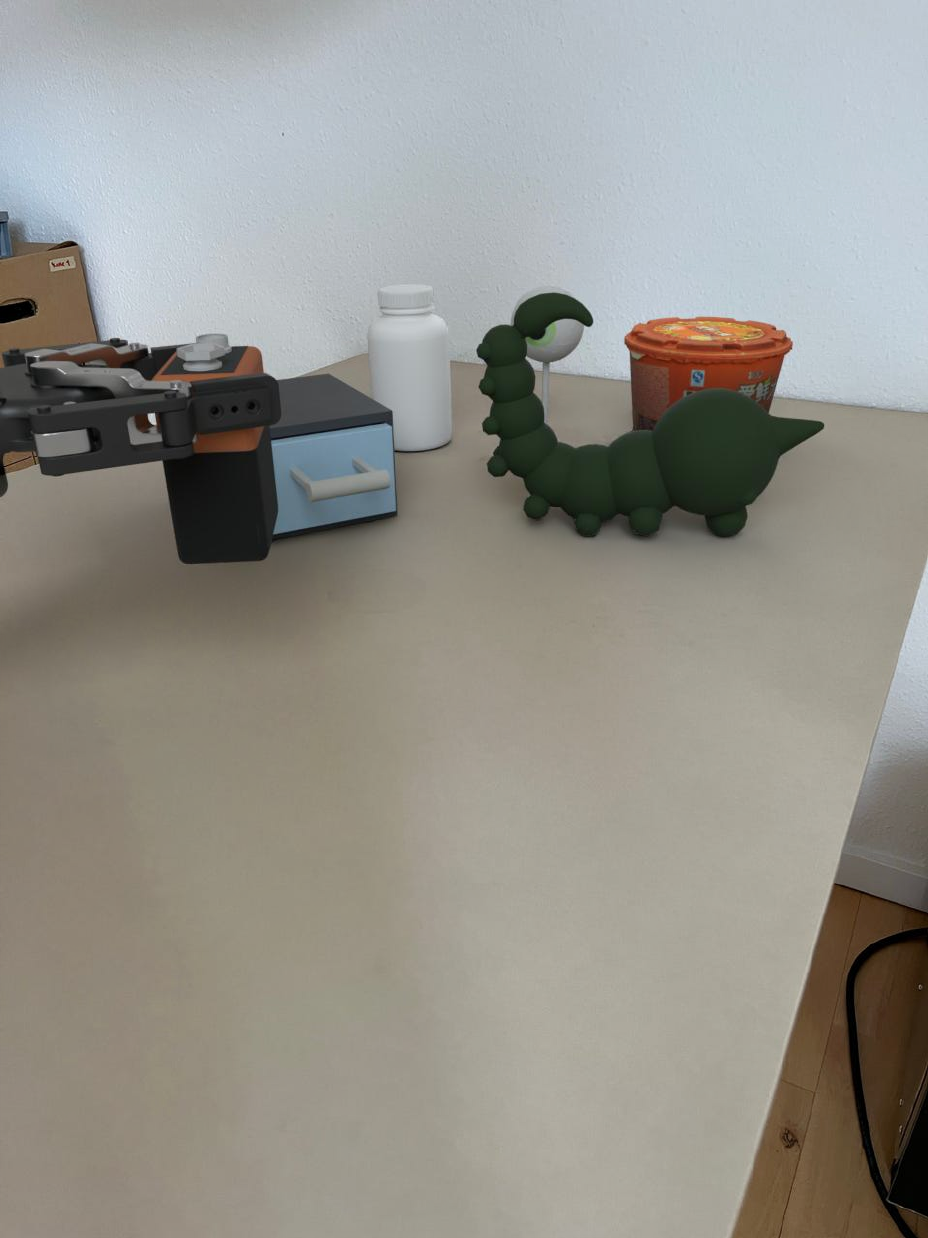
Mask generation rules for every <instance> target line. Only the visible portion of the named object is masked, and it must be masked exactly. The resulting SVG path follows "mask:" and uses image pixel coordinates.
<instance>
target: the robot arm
mask: <svg viewBox="0 0 928 1238" xmlns="http://www.w3.org/2000/svg"><path fill="white" fill-rule="evenodd" d="M190 344H196V342H193V343H182V344H173V345H162V346H152V347H149V346H148V345H147V344H144V343H140V342H130V343H129V341H128V340H127V339H121V338H120V337H111V338H109V339H108V340H107V339H106V340H97V341H87V342H77V343H69V344H60V345H59V344H58V345H48V346H39V347H30V348H20V347H12V348H8V350H5V351H2V352H1V358H2V363H3V366H4V367H0V498H3V496H5V495H6V493H7V492H8V489H9V481H8V476H7V472H6V469H5V465H4V464H5V463H4V457H5V455H6V454H10V453H12V452H13V453H19V454H20V453H35V456H36V457H37V461H38V465H39V469H40V473H41V475H42V476H46V477H47V476H49V477H62V476H65V475H69V474H71V475H72V474H77V473H84V472H91V471H100V470H105V469H113V468H120V467H126V466H133V465H141V464H148V463H154V462H155V463H156V462H163V460H170V459H184V458H186V457H189V456H191V455H193V454H194V453H195V451H194V445H193V443H195V442H197V441H199V436H198V433H199V434H200V435H205V434H213V433H220V432H227V431H234V430H241V429H248V428H255V427H262V426H269V425H274V424H276V423H277V422H278V421H279V420H280V418H281V404H280V394H279V385H278V382H277V380H278V379H276V378H275V377H274V376H272V375H271V374H269V373H267V372H264V373H256V374H248V375H239V376H231V377H222V378H214V379H205V380H197V381H190V383H189V382H182V381H181V380H173V381H151V380H152V379H153V377H154V376H155V375H156V374H157V373H158V372H159V370H160V369H161V368H162V367H163V366H164V365H165V364H166V362H167V361H168V360H169V359H170V358H171V357H172V355H173V354H174V353H175V352H176V351H177V349H176V348H180V347H183V346H187V345H190ZM149 349H150V351H149ZM87 363H88V364H87ZM155 413H158V418H159V425H160V426H157V425H156V424H153V423H152V422H151V421H150V418H149V415H150V414H155Z"/></svg>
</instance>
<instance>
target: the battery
mask: <svg viewBox="0 0 928 1238" xmlns="http://www.w3.org/2000/svg"><path fill="white" fill-rule="evenodd" d="M195 343H196V344H191V343H189V344H190V345H187V346H183V347H180V348H176V349H177V351H176V352H175V353H174V354H173V355H172V357H171V358H170V359H169V360H168V361H167V362H166V364H165V365H164V366H163V367H162V368H161V369H160V370H159V372H158V373H157V374H156V375H155V376H154V377H153V379H152V380H151V381H173V380H181V381H182V382H189V383H190V381H197V380H205V379H214V378H222V377H231V376H239V375H248V374H256V373H265V372H264V361H263V354H262V352H261V350H260V349H259V348H258V347H256V346H254V345H253V346H252V345H233V346H231V345H230V343H229V336H228V334H226V333H204V334H199V335H197V336H195ZM154 418H155V423H156V424H155V425H156V426H160V425H159V418H158V413H154ZM198 436H199V441H197V442H195V443H193V445H194V451H195V453H194V454H193V455H191V456H189V457H186V458H184V459H170V460H163V461H162V466H163V473H164V479H165V485H166V490H167V497H168V504H169V509H170V513H171V514H170V516H171V522H172V527H173V533H174V539H175V545H176V551H177V552H176V553H177V557H178V559H179V561H180V562H181V563H182V564H184V565H207V564H208V565H209V564H223V563H224V564H226V563H227V564H229V563H230V564H231V563H248V562H249V563H250V562H251V563H252V562H262V561H265V560H266V559H267V557H268V556H269V554H270V550H271V545H272V542H273V540H272V537H273V533H274V528H275V524H276V520H277V515H278V500H277V491H276V482H275V472H274V463H273V454H272V444H271V435H270V426H262V427H255V428H248V429H241V430H234V431H227V432H220V433H213V434H205V435H200V434H199V433H198Z"/></svg>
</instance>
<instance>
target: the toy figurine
mask: <svg viewBox="0 0 928 1238" xmlns="http://www.w3.org/2000/svg"><path fill="white" fill-rule="evenodd" d="M575 298H576V297H575ZM575 298H573V297H571V296H569V295H566V294H561V293H555V292H553V293H543V294H539V295H536V296H534V297H531V298H529V299H527V300H526V301H524V302H523V303H522V304H520V306H519V307H518V309H517V310H516V312H515V315H514V324H513V326H511V324H499V325H495V326H493V327H491V328H490V329H489V330H488V331H487V332H486V333H485V334H484V336H483V338H482V341H481V343H479V344H478V345H477V348H476V349H475V351H476V355H477V358H479V359H480V360H483V362H484V363H485V364H486V369H485V371H484V374H483V378H481V379H480V381H479V384H478V388H479V391H480V392H481V394H482V395H484V396H487V397H488V398H489V399H490V400H491V401H492V404H491V405H490V409H489V415H488V416H486V417H485V418H484V420H483V421H482V422H481V428H482V431H483V432H484V433H485V434H486V435H487V436H494V435H495V436H497V437H498V438H499V443H498V445H497V446H496V448H495V449H494V451H493V452H492V456H491V457H489V459H488V460H487V463H486V466H487V467H486V468H487V472H488V473H489V474H490V475H491V476H492V477H493V478H501V477H504V476H506V474H507V473H508V472H509V473H511V474H512V475H513V476H515V477H517V478H521V479H522V480H523V484H524V487H525V490H526V491H527V492H528V494H529V496H527V497H525V499H524V503H523V507H522V510H523V512H524V514H525V515H526V517H527V518H528V519H531V520H534V521H538V520H540V519H543V518H544V517H546V516H548V514H549V511H550V508H560V509H561V510H562V511H563V512H564V513H565V514H566V515H567V516H569V517H571V518H572V519H574V521H573V523H574V527H575V530H576V533H579V534H581V536H584V537H590V536H595V535H596V534H597V533H598V532H599V531H600V529H601V527H602V523H603V522H608V521H611V520H612V519H613V518H616V516H618V515H622V516H623V517H627V518H628V523H627V524H628V526H629V527H630V529H631V530H632V531H633V532H634V534H635V535H640V536H646V537H649V536H651V535H652V534H654V533H656V532H658V531H659V530H660V527H661V523H662V519H663V514H665V513H667V512H669V511H670V510H671V509H672V508H674V507H677V508H678V509H680V510H682V511H684V512H687V513H690V514H693V515H697V516H704V520H705V523H706V527H707V528H708V530H710V531H711V532H712V533H714V535H716V536H721V537H726V538H728V537H732V536H736V535H737V534H738V533H739V532H741V530H743V529H744V528H745V527H746V523H747V520H748V518H749V517H748V510H747V507H748V506H750V505H752V504H753V503H754V502H755V501H756V500H757V499H758V497H760V496H761V495H762V493H764V491H765V490H766V488H767V487H768V486H769V484H770V483H771V481H772V479H773V477H774V475H775V472H776V470H777V467H778V465H779V459H780V458H781V457H782V456H783V455H785V454H786V453H787V452H789V451H791V450H792V449H794V448H795V447H797V446H799V445H801V444H802V443H804V442H805V441H807V440H809V439H811V438H812V437H814V436H815V435H817V434H819V433H820V432H821V431H823V430H824V428H825V423H824V422H822V421H821V420H813V419H806V418H805V419H803V418H793V417H783V416H777V415H776V416H775V415H771V414H770V412H769V413H768V412H767V411H766V410H765V409H764V408H763V407H762V406H761V405H760V404H759V403H757V402H756V401H755V400H753V399H752V398H750V397H748V396H746V395H744V394H742V393H740V392H737V391H733V390H729V389H723V388H711V389H704V390H701V391H697V392H694V393H691V394H689V395H687V396H685V397H683V398H681V399H679V400H678V401H677V402H675V403H674V404H673V405H672V406H670V407H669V408H668V409H667V410H666V411H665V412H664V414H663V415H662V416H661V417H660V419H659V420H658V422H657V423H656V425H655V427H654V429H653V431H651V430H636V431H633V430H632V431H629V432H626V433H624V434H622V435H620V436H618V437H617V438H616V439H614V440H613V441H612V442H611V443H610V444H609V445H608V446H607V445H604V444H598V443H587V444H584V445H580V446H578V447H574V446H573V445H571V444H569V443H565V442H561V441H558V437H557V435H556V433H555V432H554V429H552V427H550V425H549V424H548V425H547V424H546V423H544V420H545V417H544V407H543V404H542V399H540V397H539V396H538V395H537V394H536V393H534V391H535V389H536V387H535V386H536V373H535V369H534V367H533V366H532V363H531V362H530V361H529V360H528V359H527V356H526V355H527V342H526V339H525V338H526V337H532V336H535V335H537V334H539V333H541V332H542V331H544V330H545V329H546V328H547V327H548V326H549V325H550V324H552V323H553V322H555V321H558V320H562V319H573V320H577V321H578V322H580V323H582V324H583V325H584V327H587V328H591V327H592V326H593V324H594V318H593V315H592V313H591V312H590V311H589V309H588V308H587V307H586V306H585V305H584V304H583V302H581V301H580V300H579V299H577V298H576V299H577V300H576V299H575Z"/></svg>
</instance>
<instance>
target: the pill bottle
mask: <svg viewBox="0 0 928 1238" xmlns="http://www.w3.org/2000/svg"><path fill="white" fill-rule="evenodd" d="M377 302H378V306H379V307H378V310H379V312H380V313H381V314H382V315H380V316H378V317H377V318H375V319H374V320H373V321H372V322H371V323H369V326H368V329H367V333H366V335H367V339H366V340H367V351H368V365H369V378H370V379H369V380H370V392H371V393H370V395H371V398H372V399H373V400H375V401H377V402H378V403H380V404H382V405H384V406H385V407H387V408H389V409H390V410H392V411H393V420H392V421H393V433H394V451H397V452H421V451H422V452H423V451H428V450H433V449H437V448H440V447H443V446H445V445H447V444H448V443H449V442H450V441H451V439H452V433H453V432H452V431H453V420H452V390H451V389H452V388H451V358H450V357H451V356H450V355H451V354H450V331H449V328H448V324H447V323H446V321H445V320H444V319H443V318H442V317H440V316H438V315H437V314H433V313H432V311H434V310H435V305H434V303H435V295H434V288H433V286H431V285H428V284H419V283H418V284H417V283H415V284H412V283H409V284H393V285H387V286H383V287H380V288H378V290H377Z"/></svg>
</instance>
